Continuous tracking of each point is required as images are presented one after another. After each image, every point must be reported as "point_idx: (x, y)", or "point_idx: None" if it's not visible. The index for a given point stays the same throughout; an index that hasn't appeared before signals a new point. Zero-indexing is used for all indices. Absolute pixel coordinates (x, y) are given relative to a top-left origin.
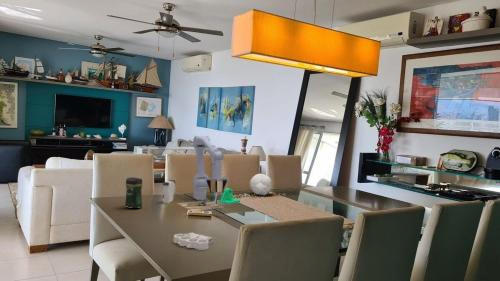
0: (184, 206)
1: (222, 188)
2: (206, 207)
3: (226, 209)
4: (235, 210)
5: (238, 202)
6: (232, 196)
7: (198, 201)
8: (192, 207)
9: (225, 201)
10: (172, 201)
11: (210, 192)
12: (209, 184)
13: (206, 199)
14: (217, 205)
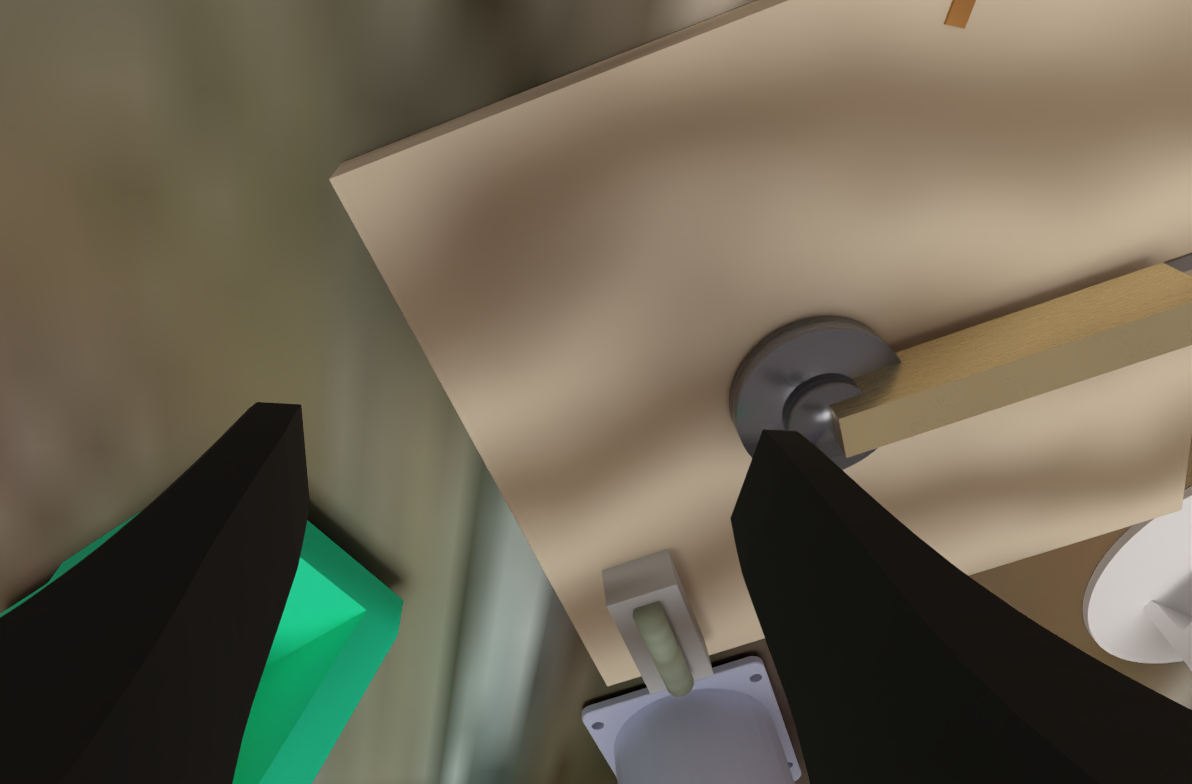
0: None
1: (257, 605)
2: (775, 179)
3: (278, 176)
4: (22, 46)
5: (13, 608)
6: None
7: (933, 406)
8: (1079, 199)
9: None
10: (1173, 621)
11: (790, 433)
12: (1062, 682)
13: (670, 626)
14: (481, 355)
